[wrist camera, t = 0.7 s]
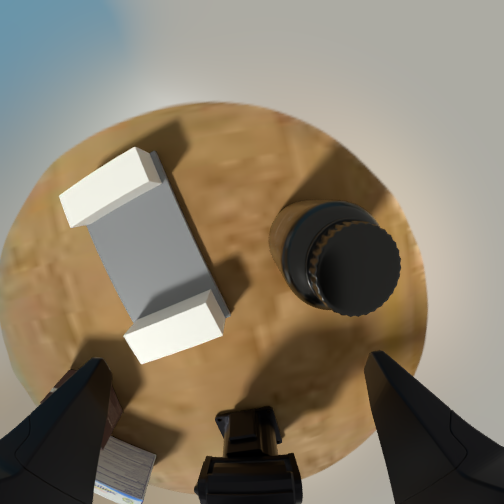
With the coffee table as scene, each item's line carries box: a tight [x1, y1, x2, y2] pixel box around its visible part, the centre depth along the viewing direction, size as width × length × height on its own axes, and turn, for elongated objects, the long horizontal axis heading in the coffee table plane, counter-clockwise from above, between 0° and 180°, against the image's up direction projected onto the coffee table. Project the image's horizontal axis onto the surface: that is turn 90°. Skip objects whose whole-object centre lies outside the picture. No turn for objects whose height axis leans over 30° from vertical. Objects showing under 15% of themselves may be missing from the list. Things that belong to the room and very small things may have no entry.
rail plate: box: [59, 147, 231, 364], centre depth 23 cm, size 16×9×4 cm, turn 24°
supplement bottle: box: [269, 200, 401, 317], centre depth 19 cm, size 7×7×12 cm
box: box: [40, 370, 123, 451], centre depth 24 cm, size 6×6×7 cm
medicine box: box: [94, 436, 156, 504], centre depth 25 cm, size 8×4×9 cm, turn 67°
